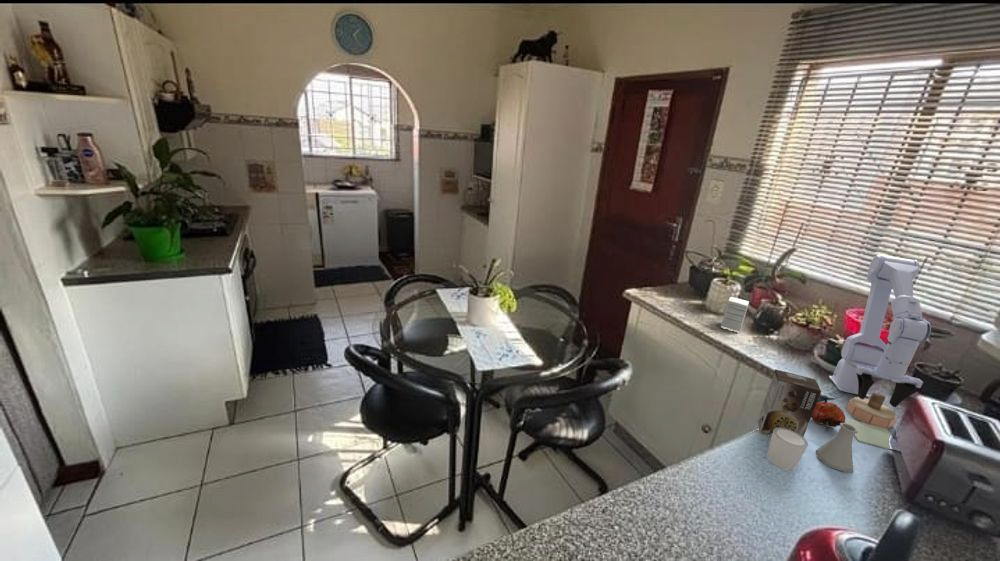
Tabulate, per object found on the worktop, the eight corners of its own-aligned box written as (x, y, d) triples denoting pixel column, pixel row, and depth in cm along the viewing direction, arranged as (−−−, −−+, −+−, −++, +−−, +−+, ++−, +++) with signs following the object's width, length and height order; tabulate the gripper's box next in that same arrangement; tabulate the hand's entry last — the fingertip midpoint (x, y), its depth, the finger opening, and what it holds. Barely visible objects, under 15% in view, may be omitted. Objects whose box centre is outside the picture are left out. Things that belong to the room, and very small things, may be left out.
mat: (841, 418, 117) (841, 417, 117) (885, 429, 114) (886, 428, 114) (857, 441, 108) (858, 439, 107) (906, 454, 105) (907, 452, 104)
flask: (859, 476, 95) (876, 440, 92) (825, 468, 96) (841, 433, 93) (841, 454, 102) (856, 421, 99) (809, 448, 103) (823, 414, 100)
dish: (841, 402, 125) (845, 394, 124) (880, 412, 122) (884, 404, 121) (856, 421, 116) (860, 412, 115) (899, 432, 113) (903, 423, 112)
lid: (846, 395, 124) (852, 382, 123) (884, 404, 121) (890, 391, 120) (861, 412, 115) (867, 399, 114) (901, 422, 113) (908, 409, 111)
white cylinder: (792, 456, 99) (802, 432, 97) (802, 476, 93) (813, 451, 91) (760, 447, 101) (769, 423, 99) (768, 466, 95) (778, 441, 93)
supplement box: (722, 323, 179) (730, 296, 175) (741, 328, 175) (750, 301, 171) (719, 328, 173) (727, 300, 169) (739, 333, 169) (748, 305, 165)
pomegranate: (840, 443, 110) (842, 409, 115) (847, 432, 105) (849, 397, 109) (806, 433, 114) (809, 401, 119) (811, 422, 109) (814, 389, 114)
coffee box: (795, 431, 109) (816, 379, 103) (800, 446, 103) (823, 391, 98) (756, 419, 112) (774, 368, 107) (759, 433, 106) (779, 379, 101)
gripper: (871, 358, 112) (852, 401, 116) (937, 373, 108) (915, 416, 112) (859, 348, 118) (842, 388, 122) (921, 361, 114) (901, 402, 118)
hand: (876, 401), depth 118 cm, fingers open, 7 cm apart
